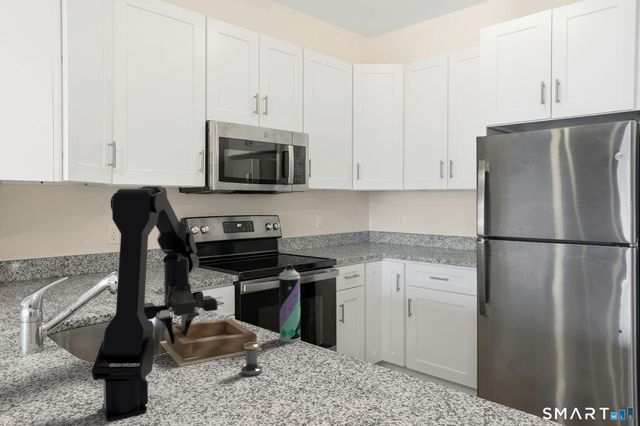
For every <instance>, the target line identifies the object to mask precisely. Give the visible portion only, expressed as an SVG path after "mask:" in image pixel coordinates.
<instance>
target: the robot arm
mask: <svg viewBox="0 0 640 426" xmlns="http://www.w3.org/2000/svg"><path fill="white" fill-rule="evenodd" d="M110 208H111V213H112V214H111V218H112V221H113V223H114V224H115V226H116V228H117V230H118V231H119V233H120V241H119V242H120V244H119V259H118V273H117V287H116V288H117V289H116V303H115V304H116V306H115V314H114V316H113V317H112V318H111V320H110V322H109V323H108V324H107V326H106V327H105V328H104V332H103V339H102V341H101V343H100V346H99V350H98V352H97V355H96V358H95V361H94V363H93V366H92V369H91V373H92V377H93V381H98V380H100V381H101V380H103V404H102V405H101V406H102V408H101V409H102V411H103V413H104V414H103V415H104V418H105V420H106V421H107V422H109V421H113V420H117V419H118V420H119V419H121V418H126V417H130V416H131V417H132V416H134V415H139V414H143V413H146V412H148V407H147V406H146V405H148V403H149V393H148V392H149V391H148V390H149V388H148V387H149V386H148V385H149V383H148V382H149V381H148V380H147V379H146V377H147V376H148V375H149V374H150V373H151V371H152V370H153V367H154V365H153V364H154V355H155V354H154V353H155V348H156V347H155V344H156V343H155V338H154V323H153V321H152V320H154V318H156V320H157V321H159V322H161V323H162V325H163V327H164V330H165V329H166V332H167V334H168V337H169V339H170V342H171V343H172V344H173V340H174V337H173V328H172V325H173V317H172V316H171V315H170V314H171V313H172V312H173V315H174V316H177V317H178V316H179V317H180V316H181V317H180V318H181V319H180V320H181V321H180V322H181V323H180V324H181V333H182V334H183V335H184V336H186V335H187V332H188V329H189V326H190V324H191V323H193V320H195V318H196V317H198V316H199V317H200V312H198V311H199V309H201V308H202V310H203V311H205V312H211V311H217V310H218V309H219V307H218V300H217V299H216V298H214V297H213V296H210V295H206V296H205V295H204V293H203V291H202V290H198V291H193V292H192V290H191V283H190V278H189V277H190V275H189V274H191V273H193V272H194V271H197V269H198V267H199V265H200V260H199V256H198V255H197V252H198V249H197V245H196V241H195V237H194V233H193V231H191V228H190V227H189V226H188V224H186V223H185V222H181V221H180V220H179V219H178V217H177V215H176V213H175V211H174V209H173V206H172V205H171V203H170V201H169V199H168V195H167V189H166V187H164V186H161V185H152V186H150V185H149V186H148V185H147V186H145V185H144V186H142V187H138V188H118V189H117V191H116V192H114V193H113V195H112V196H111V198H110ZM155 227H156V229H157V231H158V232H159V233H158V237H157V238H156V241H157V244H158V246H159V248H160V250H161V252H163V254H165V256H164V257H163V260H162V262H163V267H164V268H163V269H164V271H163V273H164V277H163V278H164V280H163V281H164V282H163V287H164V288H163V289H164V298H163V303H164V304H160V305H156V304H154V303H153V302H146V285H147V284H146V281H147V267H148V266H147V265H148V264H147V263H148V247H149V246H148V245H149V235H150V234H151V233H152V231H153V230H154V228H155ZM113 364H114V365H115V364H116V365H117V364H119V365H120V364H122V365H123V366H121V365H120V366H116V365H115V366H111V365H113ZM124 364H138V366H137V365H136V366H135V365H133V366H131V365H130V366H128V365H127V366H125V365H124Z"/></svg>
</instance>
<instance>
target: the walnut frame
mask: <svg viewBox="0 0 640 426" xmlns="http://www.w3.org/2000/svg"><path fill="white" fill-rule="evenodd" d="M172 328H173V337H174V340H173V344H172V343H171V342H170V339H169V337H168V334H167V332H166V329H165V328H164V331H163V332H164V333H163V336H164V337H163V338H164V341H167V343H168V344H169V345H170V346H171V347H172V348H173V349H174V350H175V351H176V352H177V353H178V354H179V355H180V356H181V358H182V359H188V358H195V357H202V356H209V355H216V354H223V353H230V352H236V351H243V350H246V349H244V344H245V343H249V342H256V343H257V334H256V332H253V331H251V330H250V329H249V328H247V327H245V326H243V325H241V324H239V323H238V322H236V321H235V320H233V319H231V318H227V319H226V318H225V319H218V320H208V321H207V320H205V321H196V322H191V324H190V326H189V329H188V332H187V335H186V336H184V335H183V334H182V333H181V323H178V324H177V323H176V324H172ZM220 334H227V335H228V336H222V337H214V338H205V339H197V340H189V339H188V338H196V337H204V336H212V335H220Z"/></svg>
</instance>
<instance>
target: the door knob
mask: <svg viewBox="0 0 640 426" xmlns="http://www.w3.org/2000/svg"><path fill="white" fill-rule="evenodd" d="M259 347H260V343H259V342H257V341H256V342H249V343H245V344H244V349H246V353H245V366H243V367H242V368H241V369H240V370H241V375H243V376H245V377H255V376H259V375H261V374H262V373H263V366H261V365H259V364H258V351H257V348H259Z"/></svg>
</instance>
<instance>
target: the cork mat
mask: <svg viewBox="0 0 640 426" xmlns="http://www.w3.org/2000/svg"><path fill="white" fill-rule="evenodd" d="M222 336H228V335H227V334H220V335H212V336H204V337H196V338H188V339H189V340H197V339H205V338H214V337H222ZM159 343H160V345H161V346H162V347H163V348H164V349H165V350H166V352H167V353H168V354H169V355H170V356H171V357H172V359H174V361H175V362H176V363H177V364H178V365H179V366H180V367H185V366H189V365H193V364H199V363H203V362H209V361H215V360H219V359H224V358H229V357H234V356H240V355H246V350H243V351H236V352H230V353H223V354H216V355H209V356H202V357H195V358H188V359H182V358H181V356H180V355H179V354H178V353H177V352H176V351H175V350H174V349H173V348H172V347H171V346H170V345H169V344H168V343H167V341H166V340H164V341H159ZM260 351H263V348H261V347H260V346H259V348H257V352H260Z"/></svg>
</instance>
